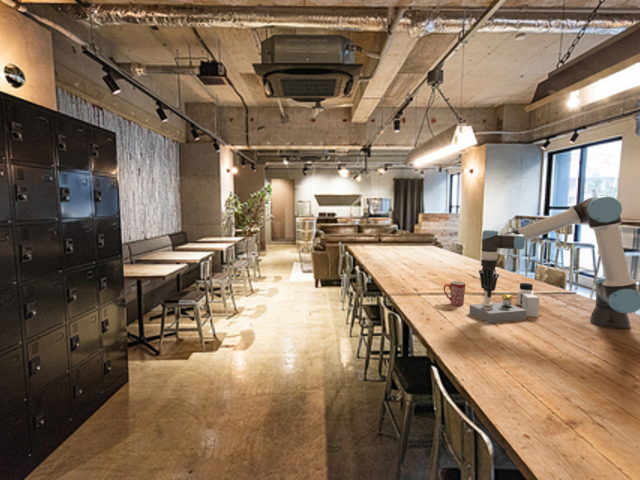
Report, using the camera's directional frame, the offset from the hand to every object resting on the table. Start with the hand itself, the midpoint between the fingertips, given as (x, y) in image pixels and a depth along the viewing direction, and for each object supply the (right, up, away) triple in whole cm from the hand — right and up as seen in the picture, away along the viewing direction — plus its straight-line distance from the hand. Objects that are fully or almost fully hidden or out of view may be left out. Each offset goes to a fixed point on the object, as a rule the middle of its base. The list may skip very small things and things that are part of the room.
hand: (487, 302), depth 180 cm
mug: (-7, -6, +27) cm, 28 cm away
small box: (+26, -8, +5) cm, 27 cm away
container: (+35, -6, +24) cm, 43 cm away
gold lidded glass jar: (+12, -4, +3) cm, 13 cm away
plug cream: (0, -7, +1) cm, 7 cm away
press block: (+6, -8, +2) cm, 10 cm away
